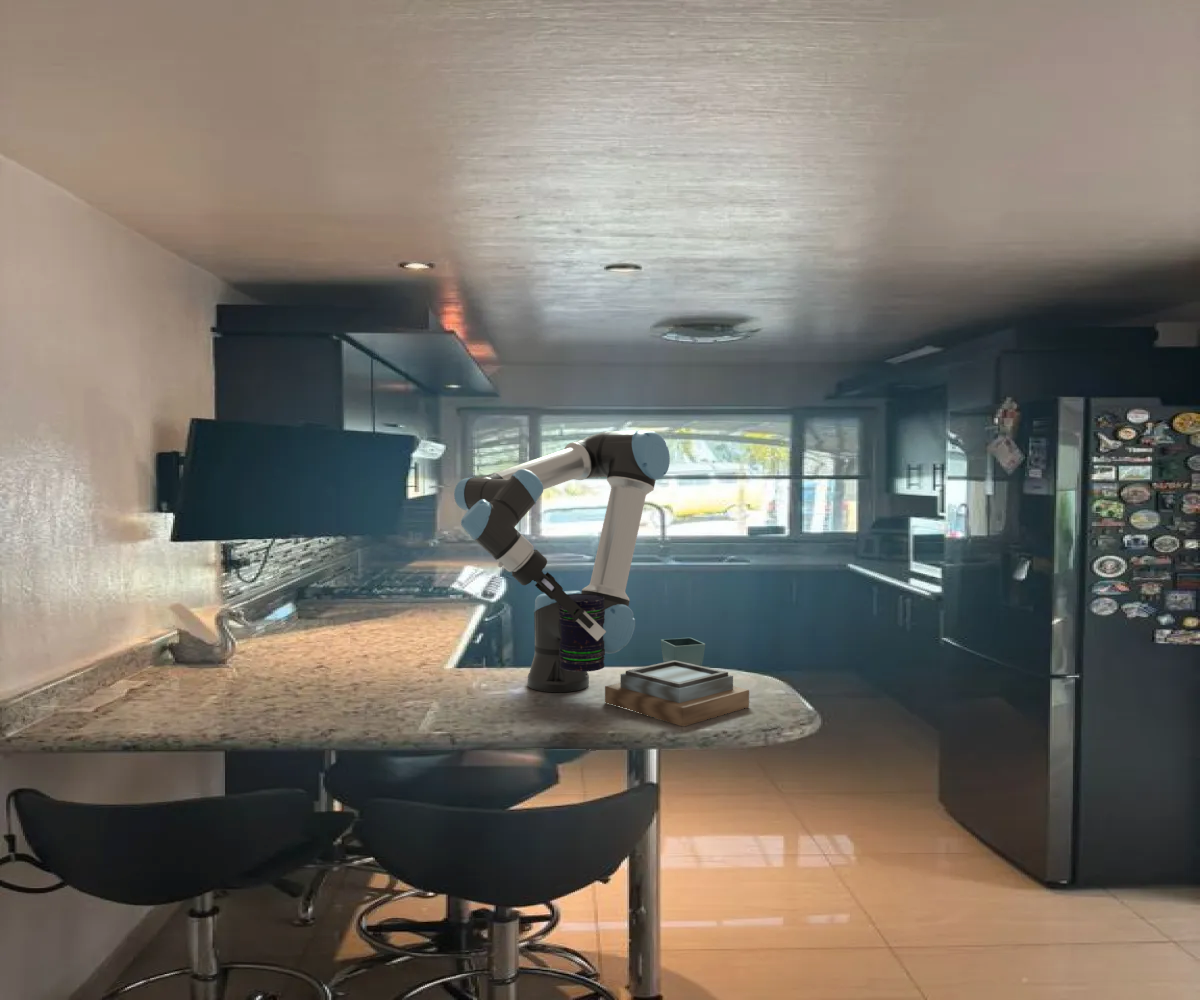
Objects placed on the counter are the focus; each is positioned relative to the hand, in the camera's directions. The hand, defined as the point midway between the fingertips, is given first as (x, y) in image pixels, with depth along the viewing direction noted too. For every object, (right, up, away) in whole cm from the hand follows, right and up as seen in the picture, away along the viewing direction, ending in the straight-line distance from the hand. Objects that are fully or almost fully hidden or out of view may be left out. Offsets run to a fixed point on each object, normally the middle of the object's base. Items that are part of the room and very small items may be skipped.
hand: (595, 631), depth 200 cm
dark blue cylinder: (-3, -8, 0) cm, 8 cm away
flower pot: (+22, -17, +39) cm, 48 cm away
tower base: (+18, -18, +10) cm, 28 cm away
